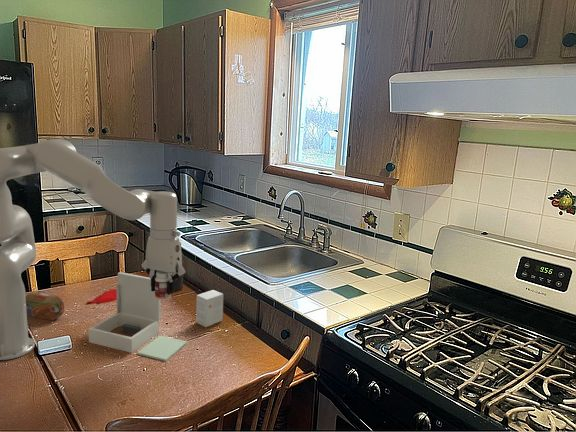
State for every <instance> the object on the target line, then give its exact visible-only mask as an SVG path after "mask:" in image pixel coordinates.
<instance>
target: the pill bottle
mask: <svg viewBox="0 0 576 432" xmlns="http://www.w3.org/2000/svg"><path fill="white" fill-rule="evenodd" d="M167 282H169V279H168V275H167V272H162V271H157V272H156V278H155V298H156V299H157V300H161V301H167V300H168V301H169V300H170V299H171V297H172V294H170V295H168V294H167Z"/></svg>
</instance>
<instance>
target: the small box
mask: <svg viewBox="0 0 576 432" xmlns="http://www.w3.org/2000/svg"><path fill="white" fill-rule="evenodd" d="M195 305H196V306H195V308H196V310H195V311H196V312H195V314H196V316H195V317H196V318H195V322H196V324H199V325H200V326H202V327H205V328H207V327H210V326H213V325H215V324H218V323H220V322H223V315H224V293H222V292H219V291H217V290H215V289H211V290H208V291H205V292H202V293H199V294H197V295H196V304H195Z"/></svg>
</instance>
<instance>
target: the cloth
mask: <svg viewBox="0 0 576 432" xmlns="http://www.w3.org/2000/svg"><path fill="white" fill-rule="evenodd" d="M114 301H117V288H114V289H109V290H106V291H104V292H103V293H101V294H99V295H98V296H96V297H95V298H94V299H92V300H91V301H90V300H89V301H87V302H85V304H84V306H86V305H87V304H89V303H93V304H97V302H98V304H99V305H101V303H102V304H105V303H110V302H111V303H112V302H114Z"/></svg>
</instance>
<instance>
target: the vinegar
mask: <svg viewBox="0 0 576 432" xmlns="http://www.w3.org/2000/svg"><path fill="white" fill-rule="evenodd" d="M180 245H181V246H182V242H181V241H180ZM181 254H182V266H183V267H184V253H183V252H182V251H181ZM175 270H176V273H178V269H175ZM172 277H173V276H172ZM183 287H184V274H182V275H181V276H180V277H179V278H177V280H175V291H174V292H176V291H177V292H178V291H181V290H182V289H183Z"/></svg>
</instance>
